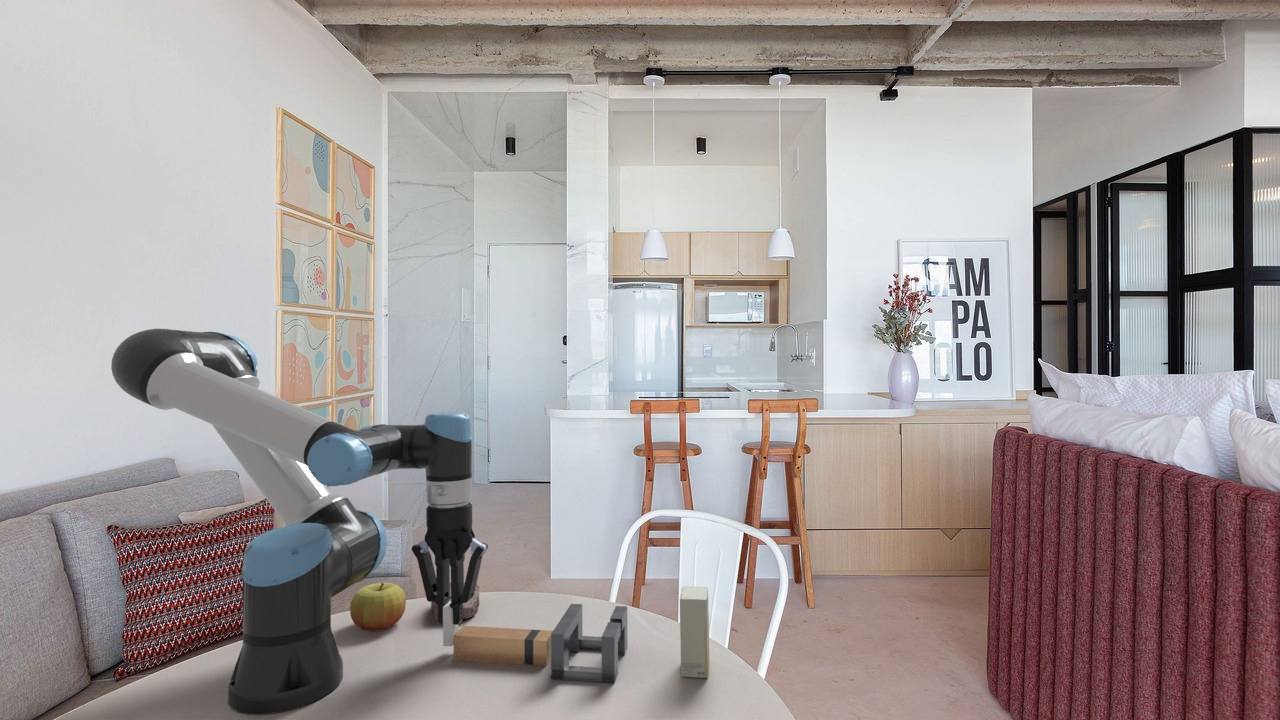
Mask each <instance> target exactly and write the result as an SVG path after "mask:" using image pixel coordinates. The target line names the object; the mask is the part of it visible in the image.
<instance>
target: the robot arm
mask: <svg viewBox="0 0 1280 720" xmlns="http://www.w3.org/2000/svg"><path fill="white" fill-rule="evenodd" d="M257 366H258V360H257V357H256V355H255V352H254V350H253V349H252V348H251V346H250V345H248V344H247V343H246V342H245V341H244V340H243V339H240V338H239V337H236V336H234V335H231V334H225V333H222V332H219V331H202V332H201V331H189V330H179V329H170V328H169V329H168V328H151V329H146V330H141V331H138V332H135V333H134V334H132V335H130V336H128V337H127V338H125V339H124V340H122V341H121V342H120V344H119V345H118V346H117V347H116V349H115V350H114V352H113V355H112V359H111V365H110V367H111V368H110V369H111V373H112V377H113V379H114V381H115V382H116V384H117V386H119V387H120V389H121V390H122V391H124V392H125V393H126V394H128V395H129V396H131V397H132V398H134V399H136V400H137V401H138V400H139V401H141V402H143V403H144V404H147V405H149V406H152V407H154V408H155V409H158V410H165V411H169V410H173V409H177V410H179V411H181V412H183V413H186V414H188V415H190V416H192V417H194V418H197V419H198V420H201V421H204V422H206V423H209V424H210V425H211V426H212V427H213V428H214V430H215V431H216V433H218V435H219V436H220V438H221V439H222V441H223V442H224V443H225V444H226V446H227V447H228V449H229V450H230V451H231V453H232V454H233V456H235V458H236V459H237V461H238V462H239V463H240V465H241V466H242V467H243V469H244V471H245V472H246V473H247V474H248V476H249V477H250V479H251V480H252V481H253V483H254V484H255V485H256V486H257V488H258V489H259V490H260V491H259V492H261V493H262V494H263V496H264V497H265V498H264V499H266V500H267V501H268V503H269V504H270V506H271V507H272V509H273V510H274V511H275V513H276V514H277V515H278V517H279V518H280V520H281V521H282V522H283V524H285V526H284V527H276V528H274V529H271V530H269V531H265V532H263V533H261V534H260V535H257V536H255V538H253V539H252V540H251V541H250V542H249V543H248V544H247V546H246V548H245V550H244V554H243V564H242V567H241V578H242V646H241V649H240V651H239V654H238V657H237V660H236V662H235V665H234V668H233V672H232V675H231V678H230V679H229V682H228V686H227V705H228V706H229V707H230V709H232V710H233V711H236V712H239V713H242V714H250V715H265V714H272V713H280V712H285V711H289V710H293V709H297V708H299V707H302V706H305V705H308V704H310V703H313V702H316V701H317V700H320V699H321V698H323V697H325V696H327V695H328V694H330V693H331V692H332V691H334V690H335V689H337V687H338V686H339V685H340V684H341V683H342V681H343V678H344V662H343V658H342V656H341V653H340V651H339V649H338V646H337V642H336V640H335V637H334V634H333V631H332V622H331V621H332V619H331V618H332V617H331V615H332V598H333V597H334V596H336V595H338V594H340V593H341V592H343V591H344V590H346V589H348V588H349V587H351V586H353V585H354V584H356V583H357V584H358V583H360V582H362V581H363V580H365V579H366V578H367V577H368V576H369V575H370V574H372V573H374V572H375V570H377V569H378V568H379V566H380V565H381V564H382V562H383V560H384V558H385V555H386V552H387V546H388V536H387V532H386V529H385V525H384V524H383V522H382V521H381V520H380V519H379V517H377V516H376V515H375V514H374V513H371V512H367V511H363V510H360V509H359V510H357V509H356V507H355V506H354V505H353V503H352V502H351V501H350V499H349V498H348V497H347V496H345V495H336V494H333V493H332V492H331V490H330V489H329V487H337V486H347V485H352V484H354V483H357V482H359V481H362V480H365V479H367V478H371V477H373V476H374V477H375V476H376V475H380V474H383V473H386V472H390V471H393V470H402V469H403V470H405V469H406V470H407V469H409V470H410V469H412V470H413V469H415V470H416V469H417V470H420V469H425V487H426V488H425V489H426V490H425V491H426V493H425V494H426V495H425V496H426V497H425V499H426V503H427V504H428V505H427V506H426V508H425V509H426V510H425V512H426V513H425V515H426V519H425V520H426V522H425V524H426V533H425V535H424V539H423V540H421V541H420V542H417V543H416V544H414V545H412V547H411V551H412V553H413V555H414V556H415V558H416V560H417V563H418V568H419V572H420V577H421V580H422V581H421V582H422V585H423V589H424V593H425V597H426V600H427V601H428V602H429V603H431V602H435V603H436V604H437V605H438V622H439V624H438V625H442V646H443V647H453V646H454V635H455V634H456V633H457V632H458V631H459V625H460V624H461V623H462V622H463V603H467V602H468V601H469V600H470V599H471V598H472V597H473V596H474V592H475V588H476V583H477V584H478V579H479V578H478V577H479V573H480V569H481V565H482V559H483V556H484V555H485V553H486V551H487V550H488V548H489V546H488V544H487V542H483V543H481V542H480V540H477V539H476V536H475V533H474V531H473V530H474V529H473V504H472V502H470V501H472V499H473V481H472V480H473V479H472V477H473V475H472V474H473V472H472V463H473V462H472V459H473V458H472V448H473V447H472V443H473V442H472V441H473V436H472V427H471V425H472V424H471V418H470V415H468V413H465V412H461V411H459V412H456V411H455V412H454V411H453V412H452V411H450V412H434V413H433V412H432V413H428V414H427V415H426V416H425V418H424V420H425V421H424V423H423V424H418V425H417V424H416V425H415V424H409V425H408V424H385V423H383V424H381V423H380V424H373V425H366V426H365V425H364V426H362V427H361V428H360V429H359V430H355V429H353V428H350V427H348V426H346V425H342V424H340V423H338V422H336V421H334V420H331V419H329V418H327V417H325V416H322V415H320V414H318V413H315V412H313V411H310V410H309V409H306V408H303V407H301V406H299V405H297V404H295V403H291V402H290V401H287V400H285V399H282V398H280V397H278V396H276V395H273V394H271V393H268V392H266V391H263V390H261V389H259V387H260V379H259V378H258V377H257V376H258V369H257ZM469 548H471V549H470V554H471V557H470V559H469V563H468V566H467V567H468V568H467V572H466V576H465V575H464V574H465V573H464V570H465V567H464V566H465V565H464V562H465V557H466V556H465V555H466V553H467V551H468V550H469ZM430 550H431V552H432V554H433V555H434V563H433V559H432V554H431V552H430ZM434 565H435V567H434ZM435 568H436V569H435ZM450 583H451V596H450ZM464 583H465V585H464ZM450 598H451V601H449V602H448V600H449V599H450Z"/></svg>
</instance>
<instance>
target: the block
mask: <svg viewBox="0 0 1280 720" xmlns="http://www.w3.org/2000/svg"><path fill="white" fill-rule="evenodd" d="M552 632H553V630H547V629H546V630H545V629H531V628H529V629H527V628H512V627H511V628H510V627H507V628H506V627H496V626H495V627H491V626H476V625H475V626H473V625H463V626H461V628H460V629H458V632H457V633H456V634H455V635H454V644H453V661H454V660H455V661H469V662H481V663H484V662H485V663H496V664H497V663H499V664H515V665H516V664H517V665H532V666H533V665H534V666H546V667H547V666H548V664H549V663H550V661H551V633H552Z"/></svg>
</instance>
